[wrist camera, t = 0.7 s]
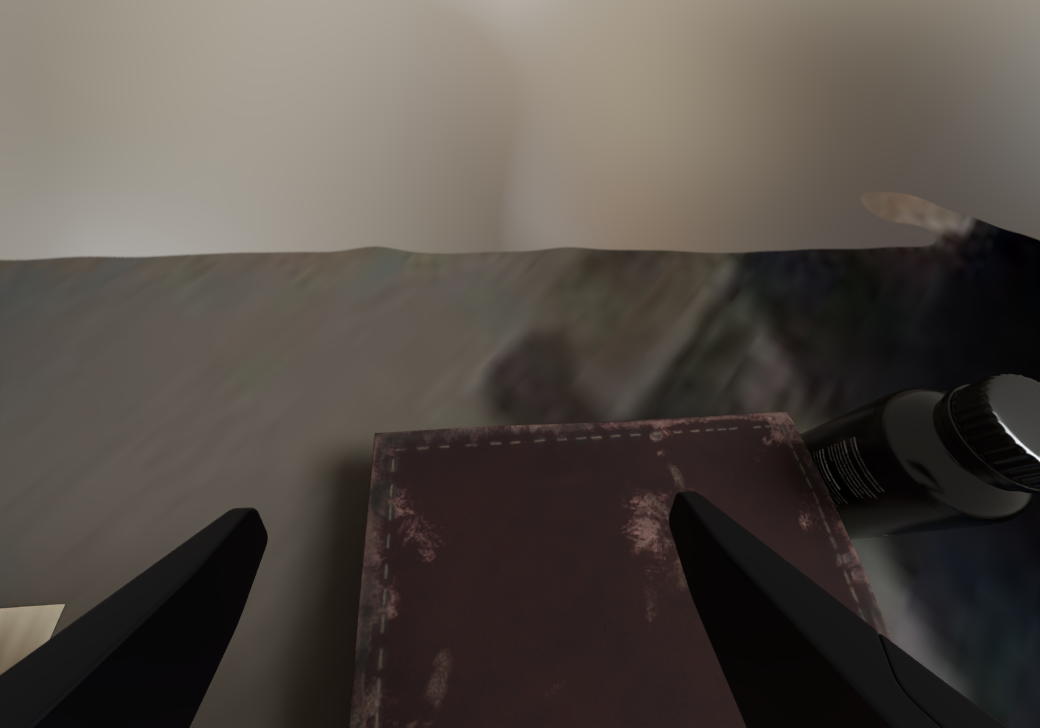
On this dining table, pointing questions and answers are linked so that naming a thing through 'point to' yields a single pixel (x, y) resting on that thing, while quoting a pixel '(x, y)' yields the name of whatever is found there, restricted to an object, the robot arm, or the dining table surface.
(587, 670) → the diary
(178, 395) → the dining table surface
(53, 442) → the dining table surface
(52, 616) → the cream two-hole slab
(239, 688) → the dining table surface
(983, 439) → the supplement bottle
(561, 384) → the dining table surface
